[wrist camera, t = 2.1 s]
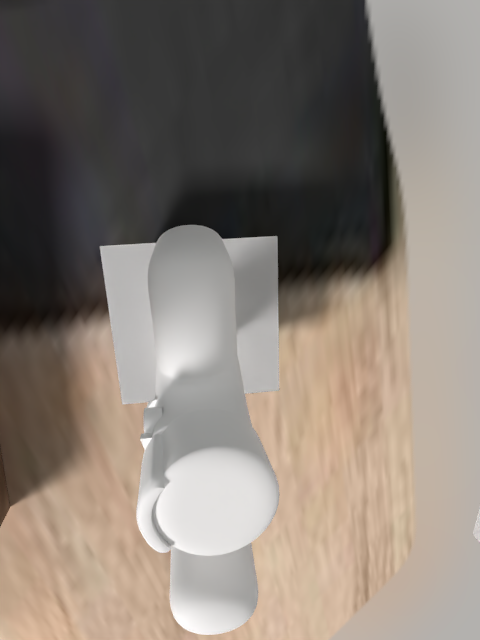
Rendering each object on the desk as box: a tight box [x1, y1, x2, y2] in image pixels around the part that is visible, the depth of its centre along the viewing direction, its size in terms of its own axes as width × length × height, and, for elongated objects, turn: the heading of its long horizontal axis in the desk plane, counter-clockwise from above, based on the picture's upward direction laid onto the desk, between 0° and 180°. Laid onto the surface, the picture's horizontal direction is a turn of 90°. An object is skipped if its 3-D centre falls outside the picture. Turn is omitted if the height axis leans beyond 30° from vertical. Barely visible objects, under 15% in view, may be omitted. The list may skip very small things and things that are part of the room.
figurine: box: [100, 225, 279, 635], centre depth 16 cm, size 7×9×15 cm
